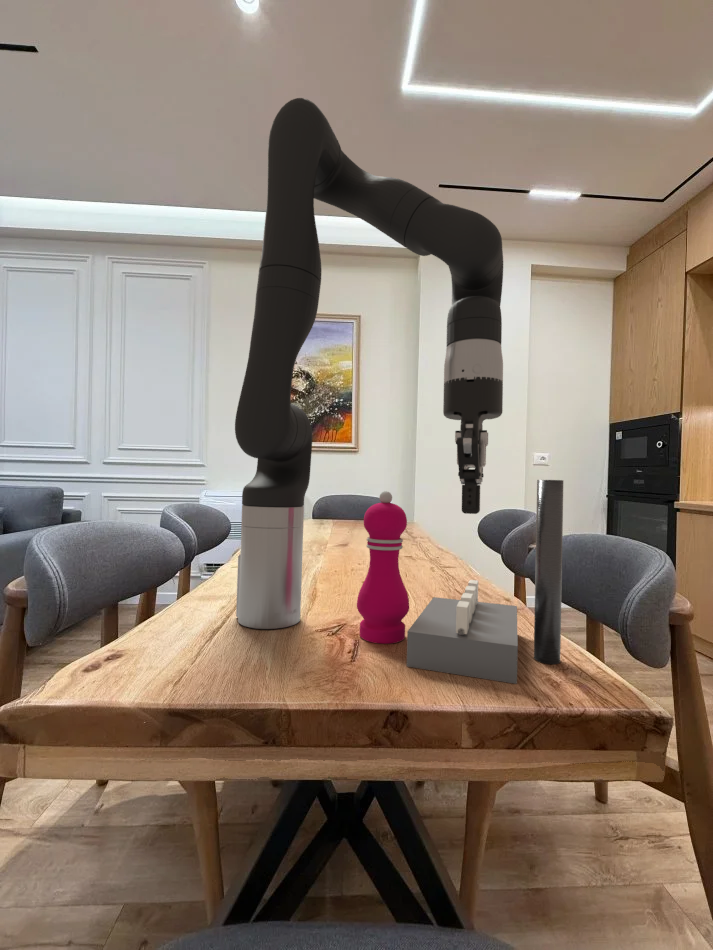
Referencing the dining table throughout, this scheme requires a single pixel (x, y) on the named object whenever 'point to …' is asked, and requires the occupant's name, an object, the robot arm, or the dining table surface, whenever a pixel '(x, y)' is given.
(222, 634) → the dining table surface
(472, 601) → the breaker paddles
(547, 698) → the dining table surface
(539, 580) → the black cord post
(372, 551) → the pepper mill
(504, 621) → the breaker panel
